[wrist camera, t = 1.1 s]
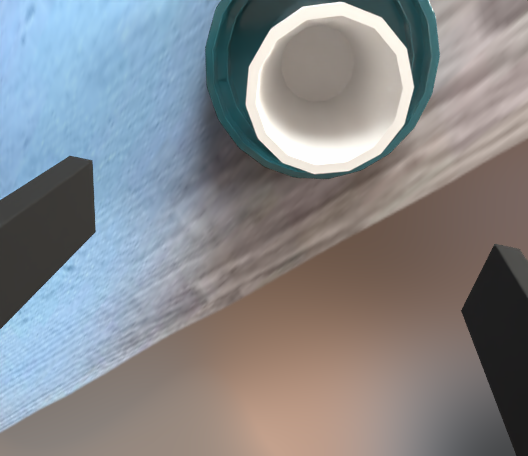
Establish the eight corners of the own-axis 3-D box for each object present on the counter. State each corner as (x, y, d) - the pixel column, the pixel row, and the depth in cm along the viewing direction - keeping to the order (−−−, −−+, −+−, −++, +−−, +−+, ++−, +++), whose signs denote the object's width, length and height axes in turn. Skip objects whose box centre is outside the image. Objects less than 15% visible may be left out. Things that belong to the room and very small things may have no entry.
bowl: (217, 156, 41) (209, 174, 37) (211, -62, 33) (200, -69, 29) (402, 164, 40) (414, 183, 36) (443, -57, 32) (464, -64, 28)
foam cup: (266, 124, 39) (255, 179, 27) (253, 9, 35) (233, 16, 23) (375, 113, 38) (410, 165, 26) (375, -7, 34) (418, -7, 22)
